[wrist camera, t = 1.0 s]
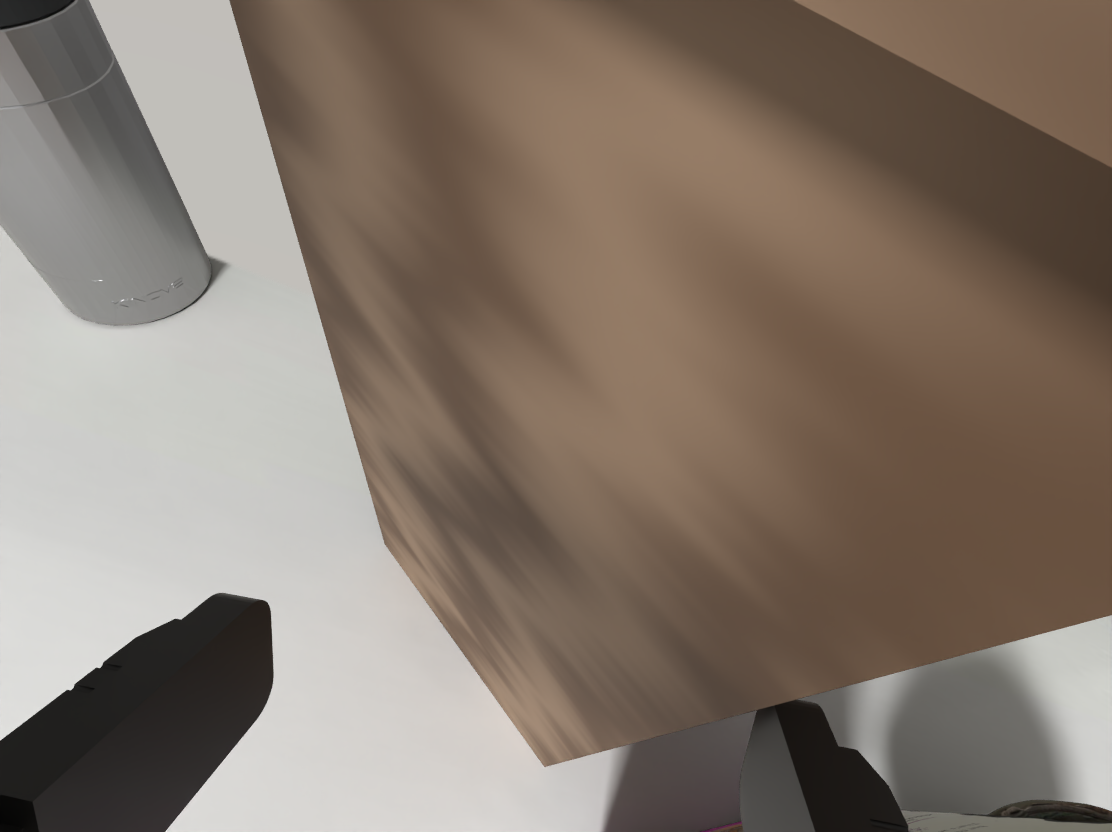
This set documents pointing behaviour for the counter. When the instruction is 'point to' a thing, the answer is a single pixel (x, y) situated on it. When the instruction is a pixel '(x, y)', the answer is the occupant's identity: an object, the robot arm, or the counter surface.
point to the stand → (712, 330)
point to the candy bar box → (975, 824)
